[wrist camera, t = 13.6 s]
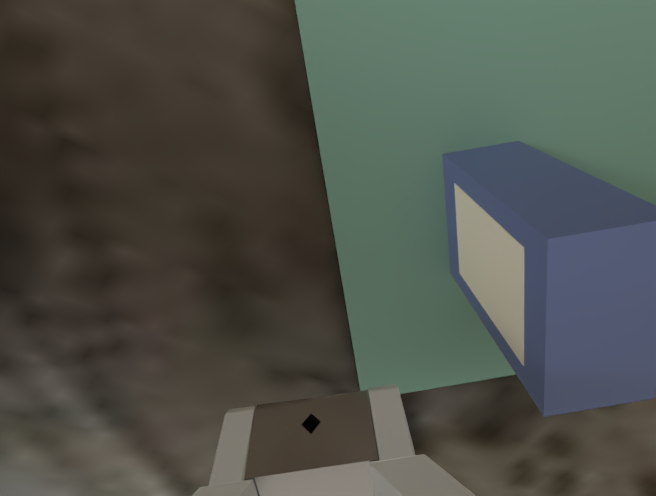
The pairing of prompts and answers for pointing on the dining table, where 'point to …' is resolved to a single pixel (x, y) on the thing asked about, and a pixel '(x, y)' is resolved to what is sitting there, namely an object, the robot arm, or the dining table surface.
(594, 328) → the block
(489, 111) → the mat
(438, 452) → the dining table surface
